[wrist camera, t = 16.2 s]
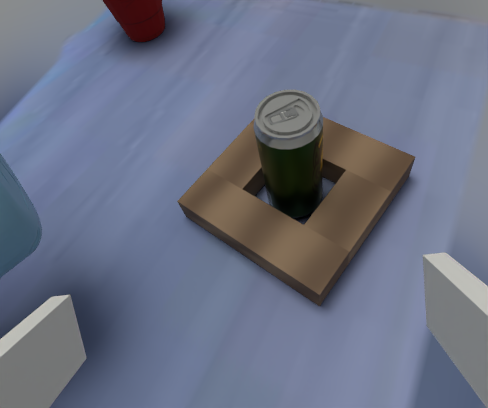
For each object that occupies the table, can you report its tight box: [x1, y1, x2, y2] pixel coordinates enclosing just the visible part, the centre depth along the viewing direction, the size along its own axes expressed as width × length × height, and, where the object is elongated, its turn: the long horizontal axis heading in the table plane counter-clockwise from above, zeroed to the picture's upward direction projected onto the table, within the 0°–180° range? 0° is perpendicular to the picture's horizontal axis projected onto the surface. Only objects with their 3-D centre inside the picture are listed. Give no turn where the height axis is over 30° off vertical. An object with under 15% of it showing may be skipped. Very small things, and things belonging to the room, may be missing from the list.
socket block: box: [177, 117, 415, 306], centre depth 39 cm, size 16×16×3 cm
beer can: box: [253, 90, 323, 218], centre depth 35 cm, size 5×5×12 cm
